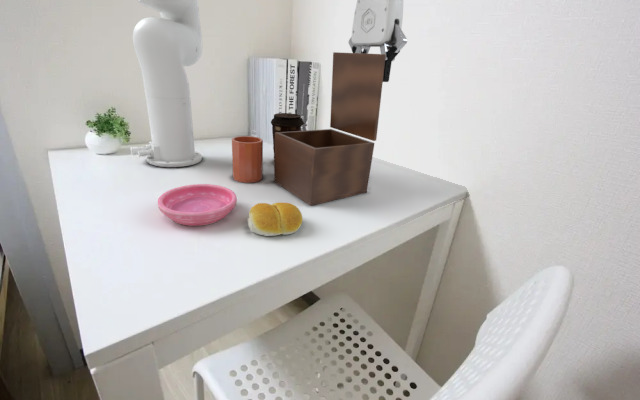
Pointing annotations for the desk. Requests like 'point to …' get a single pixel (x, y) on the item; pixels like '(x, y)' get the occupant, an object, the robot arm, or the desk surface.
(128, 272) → the desk surface
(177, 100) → the robot arm
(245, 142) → the tumbler
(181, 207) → the saucer
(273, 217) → the bread roll
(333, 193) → the chest
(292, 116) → the coffee cup
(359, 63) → the lid
